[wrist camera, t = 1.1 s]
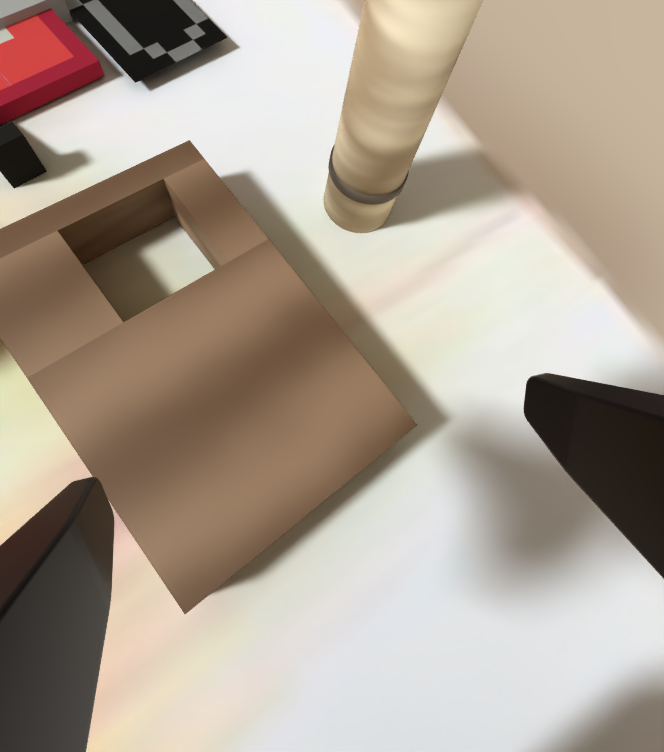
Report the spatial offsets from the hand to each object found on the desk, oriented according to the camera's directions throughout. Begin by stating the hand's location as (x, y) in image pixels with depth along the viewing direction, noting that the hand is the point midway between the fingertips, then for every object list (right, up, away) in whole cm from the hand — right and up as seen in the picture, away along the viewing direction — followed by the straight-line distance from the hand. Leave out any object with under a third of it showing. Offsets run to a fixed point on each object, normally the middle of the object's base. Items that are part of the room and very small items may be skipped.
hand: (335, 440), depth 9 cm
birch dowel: (+1, +12, +18) cm, 21 cm away
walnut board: (-7, +2, +14) cm, 15 cm away
